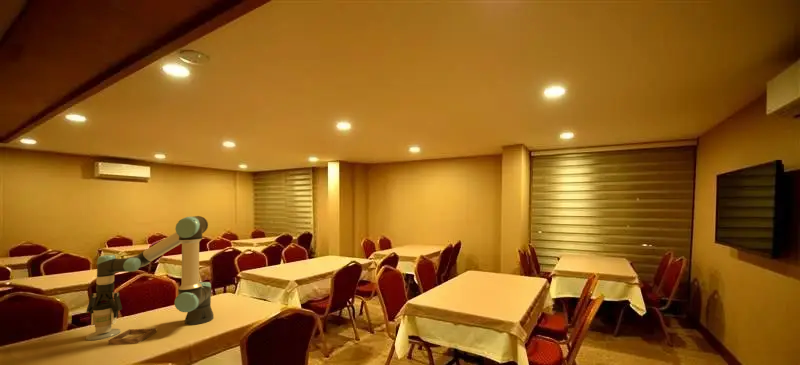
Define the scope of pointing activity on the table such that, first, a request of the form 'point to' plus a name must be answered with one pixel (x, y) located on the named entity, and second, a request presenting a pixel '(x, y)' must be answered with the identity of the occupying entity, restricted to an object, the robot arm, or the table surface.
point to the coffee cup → (102, 317)
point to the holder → (119, 337)
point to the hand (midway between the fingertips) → (103, 324)
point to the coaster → (102, 335)
